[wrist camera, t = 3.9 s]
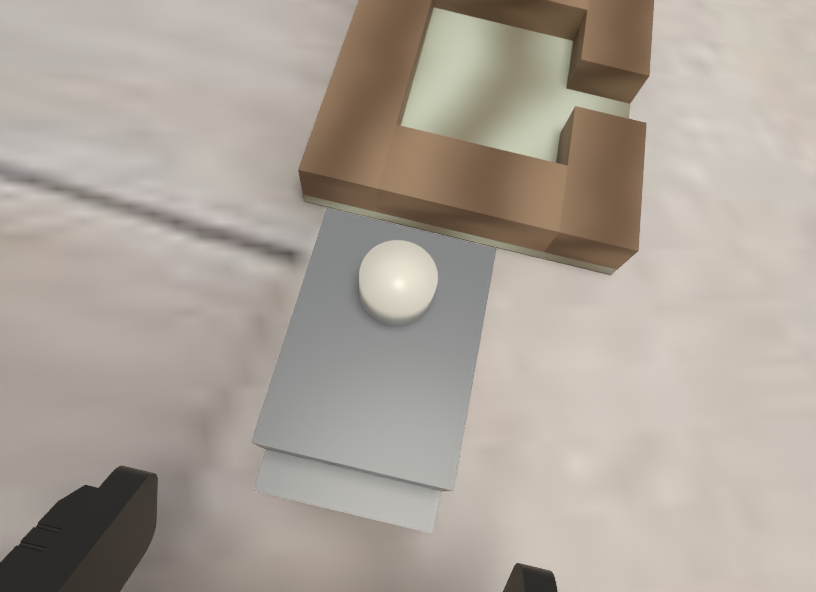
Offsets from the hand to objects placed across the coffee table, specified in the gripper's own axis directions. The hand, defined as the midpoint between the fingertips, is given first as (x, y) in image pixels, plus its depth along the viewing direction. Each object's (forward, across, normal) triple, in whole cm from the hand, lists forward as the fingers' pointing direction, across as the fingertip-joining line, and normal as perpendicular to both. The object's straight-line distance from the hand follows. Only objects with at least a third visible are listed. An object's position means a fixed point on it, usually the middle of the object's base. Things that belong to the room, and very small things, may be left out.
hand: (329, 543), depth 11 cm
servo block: (+10, 0, +3) cm, 10 cm away
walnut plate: (+22, -2, -9) cm, 24 cm away
